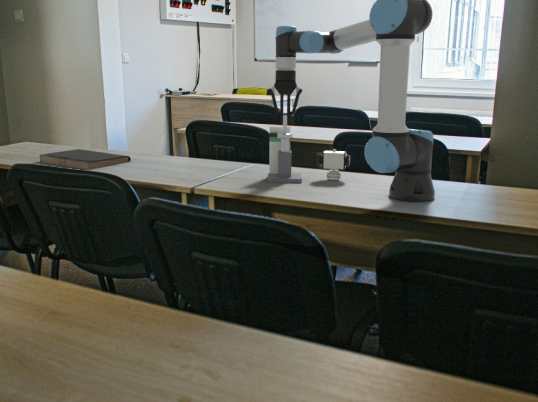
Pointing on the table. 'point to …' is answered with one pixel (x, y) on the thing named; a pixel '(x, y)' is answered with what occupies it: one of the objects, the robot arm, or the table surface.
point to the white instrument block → (283, 140)
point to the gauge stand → (280, 161)
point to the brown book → (83, 159)
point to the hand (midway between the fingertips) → (284, 133)
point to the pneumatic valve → (334, 162)
